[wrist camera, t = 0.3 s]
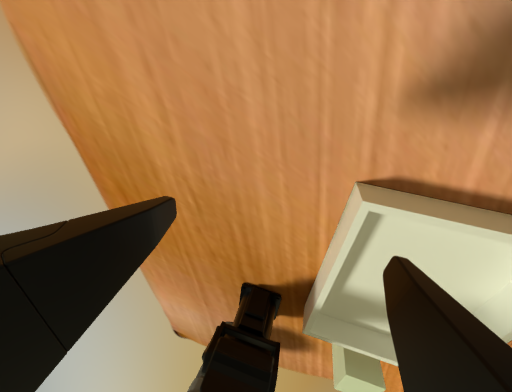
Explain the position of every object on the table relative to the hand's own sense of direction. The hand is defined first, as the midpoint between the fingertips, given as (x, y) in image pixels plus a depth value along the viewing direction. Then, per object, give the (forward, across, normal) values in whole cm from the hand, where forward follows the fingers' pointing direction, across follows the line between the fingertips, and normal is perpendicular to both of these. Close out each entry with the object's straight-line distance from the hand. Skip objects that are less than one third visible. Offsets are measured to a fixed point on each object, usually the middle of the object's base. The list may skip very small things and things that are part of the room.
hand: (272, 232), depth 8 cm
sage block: (+15, -15, +30) cm, 36 cm away
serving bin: (+14, -15, +14) cm, 25 cm away
